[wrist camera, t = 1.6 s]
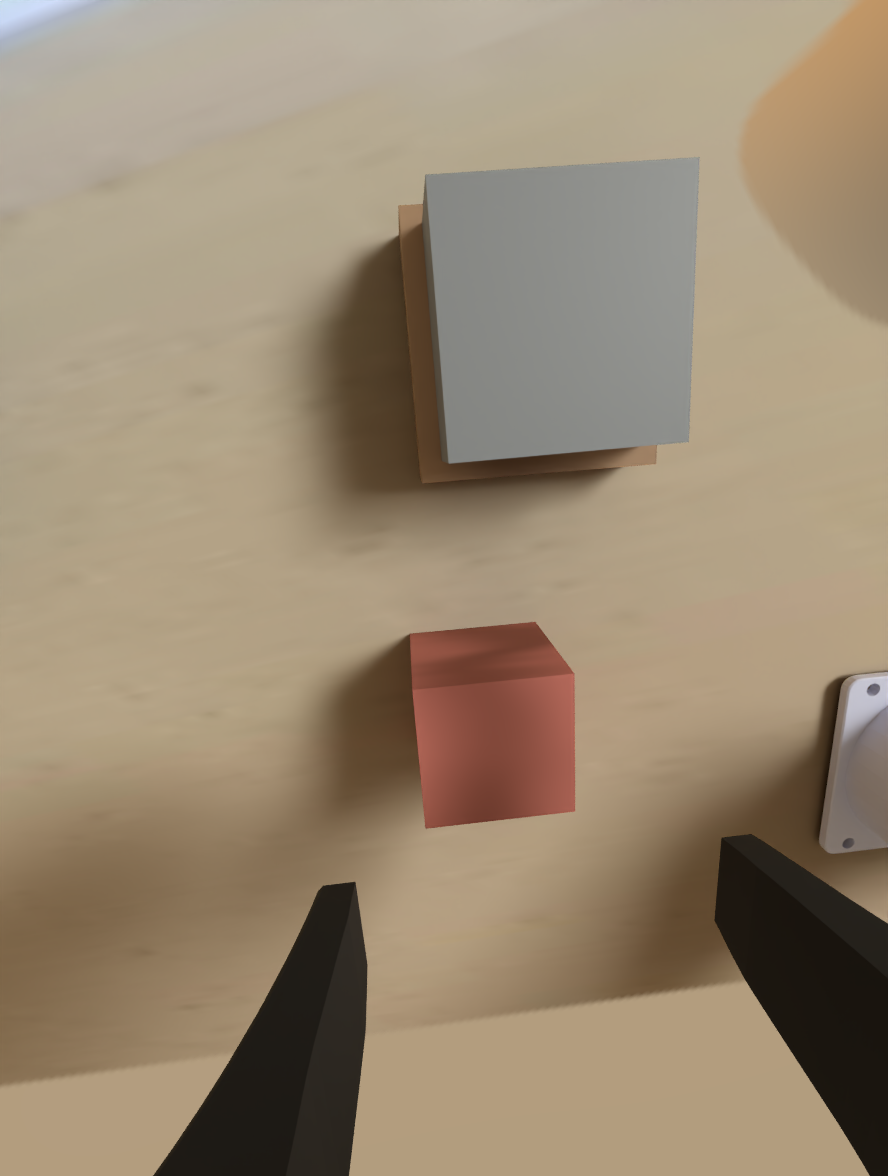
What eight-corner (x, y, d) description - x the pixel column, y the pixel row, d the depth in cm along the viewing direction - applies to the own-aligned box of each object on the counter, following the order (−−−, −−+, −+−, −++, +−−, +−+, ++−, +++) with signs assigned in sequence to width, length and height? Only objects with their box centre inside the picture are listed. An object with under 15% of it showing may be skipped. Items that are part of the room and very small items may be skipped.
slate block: (648, 207, 14) (699, 157, 11) (644, 442, 15) (688, 441, 13) (421, 223, 14) (425, 174, 11) (441, 460, 15) (448, 463, 13)
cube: (534, 621, 19) (574, 673, 15) (537, 732, 20) (575, 811, 16) (409, 632, 19) (412, 689, 14) (420, 744, 20) (425, 828, 15)
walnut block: (625, 228, 16) (664, 190, 14) (622, 461, 18) (655, 463, 16) (398, 241, 16) (398, 205, 13) (419, 477, 18) (422, 483, 15)
